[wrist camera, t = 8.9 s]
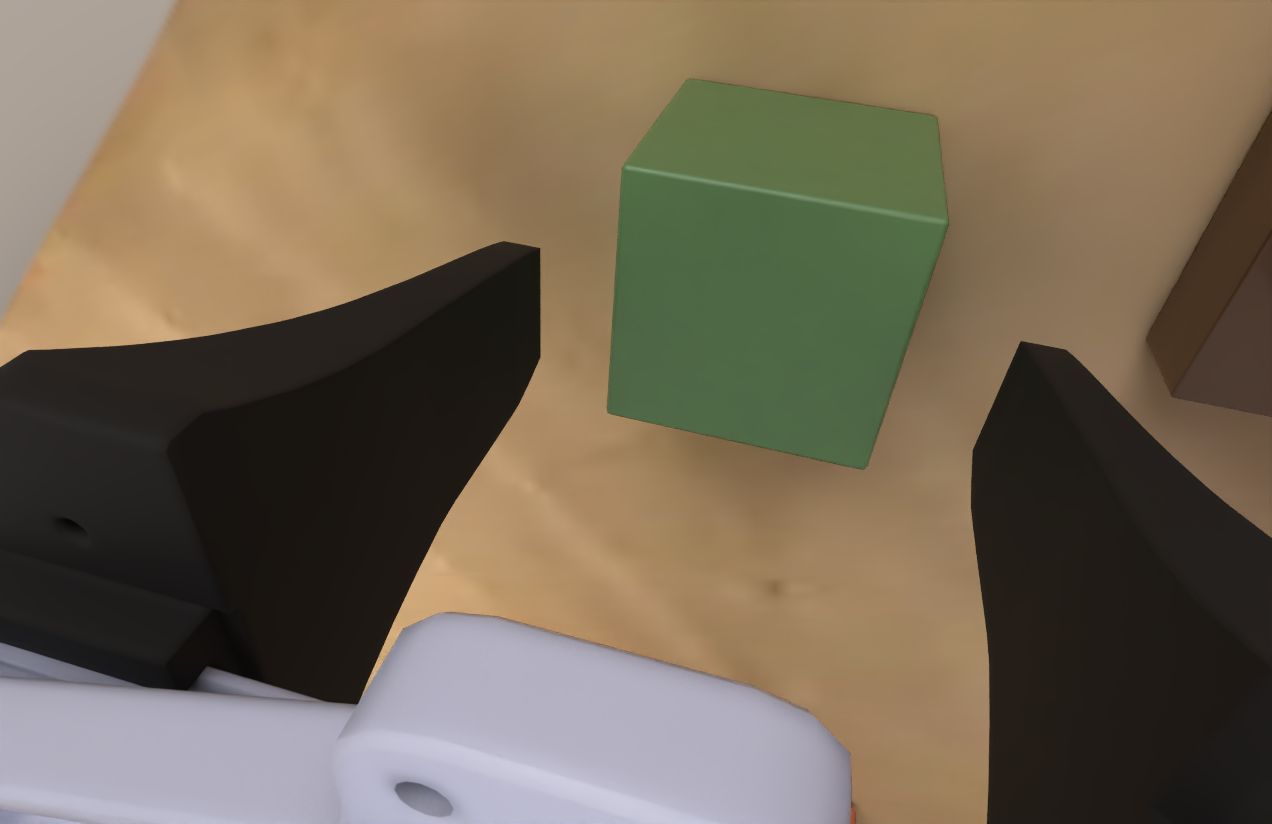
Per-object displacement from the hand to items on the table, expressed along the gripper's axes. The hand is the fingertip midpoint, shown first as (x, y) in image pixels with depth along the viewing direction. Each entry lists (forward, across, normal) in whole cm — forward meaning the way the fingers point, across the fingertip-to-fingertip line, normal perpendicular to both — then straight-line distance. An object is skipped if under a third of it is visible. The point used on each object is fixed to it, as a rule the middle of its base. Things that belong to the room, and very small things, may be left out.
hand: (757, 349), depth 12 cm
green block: (+5, 0, 0) cm, 5 cm away
